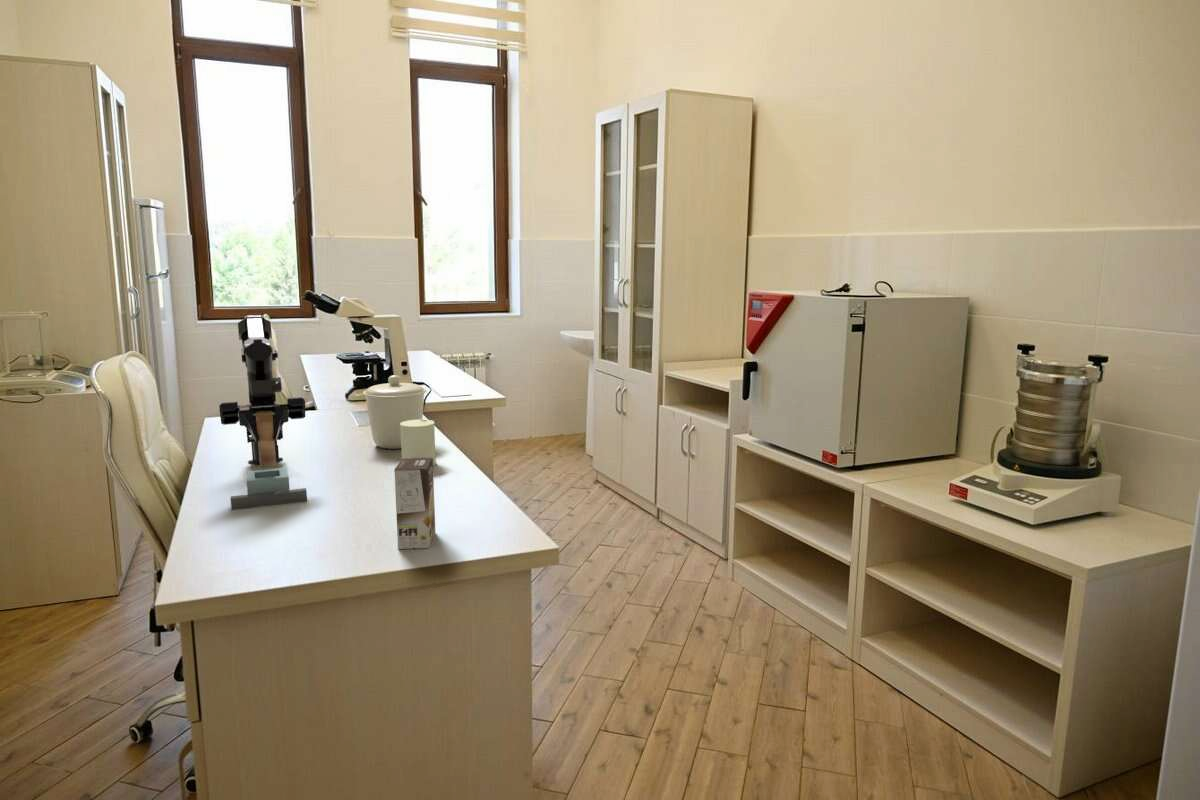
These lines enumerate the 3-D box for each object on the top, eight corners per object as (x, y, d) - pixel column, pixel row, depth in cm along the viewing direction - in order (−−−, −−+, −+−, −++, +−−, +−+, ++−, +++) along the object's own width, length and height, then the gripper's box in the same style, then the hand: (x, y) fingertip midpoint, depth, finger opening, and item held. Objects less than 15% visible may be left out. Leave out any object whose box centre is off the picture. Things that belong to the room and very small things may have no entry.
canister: (433, 449, 233) (430, 378, 229) (369, 455, 226) (365, 381, 222) (423, 436, 249) (420, 369, 245) (363, 441, 243) (359, 372, 239)
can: (442, 461, 219) (441, 418, 217) (424, 470, 211) (423, 425, 209) (413, 458, 222) (411, 416, 220) (394, 467, 214) (392, 423, 212)
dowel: (257, 466, 189) (253, 412, 186) (273, 463, 191) (269, 410, 189) (262, 469, 186) (258, 414, 184) (278, 466, 188) (274, 412, 186)
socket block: (248, 491, 192) (246, 471, 191) (288, 487, 196) (286, 467, 195) (248, 502, 184) (246, 481, 183) (290, 497, 187) (288, 476, 186)
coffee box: (430, 548, 155) (427, 469, 152) (397, 549, 155) (393, 469, 152) (436, 532, 164) (433, 456, 161) (404, 533, 164) (401, 457, 161)
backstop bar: (231, 507, 180) (230, 496, 180) (306, 498, 187) (305, 488, 186) (231, 509, 179) (230, 498, 178) (307, 500, 185) (306, 490, 184)
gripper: (216, 368, 184) (219, 425, 176) (302, 364, 192) (309, 417, 184) (219, 396, 193) (223, 451, 185) (301, 391, 200) (308, 443, 192)
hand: (266, 440), depth 186 cm, fingers closed on dowel, 4 cm apart
